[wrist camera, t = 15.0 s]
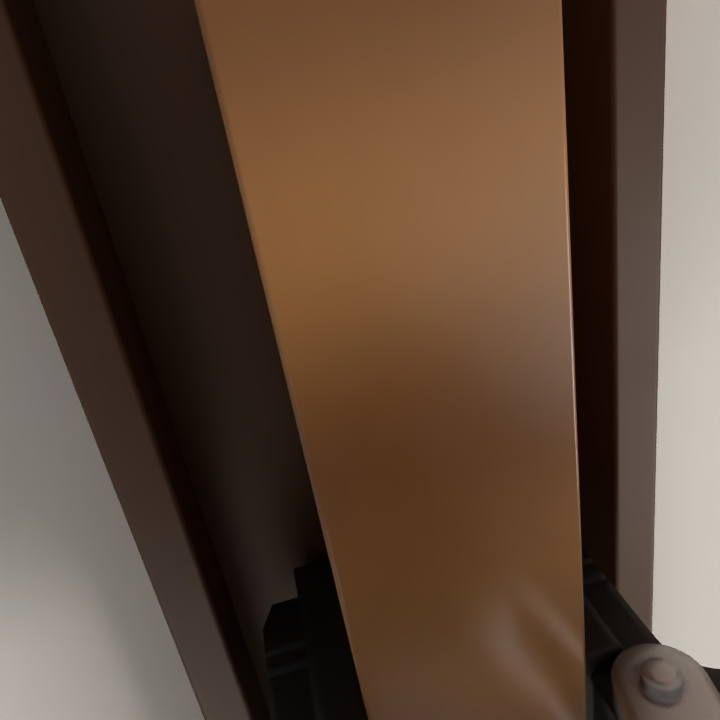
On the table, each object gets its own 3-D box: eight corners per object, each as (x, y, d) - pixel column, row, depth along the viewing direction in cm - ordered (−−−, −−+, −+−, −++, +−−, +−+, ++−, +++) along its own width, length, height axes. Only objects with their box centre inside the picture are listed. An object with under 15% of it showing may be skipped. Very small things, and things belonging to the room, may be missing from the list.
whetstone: (518, 846, 17) (601, 1053, 13) (408, 884, 16) (462, 1109, 13) (417, -32, 9) (560, -126, 5) (194, 5, 8) (177, -65, 5)
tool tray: (605, 838, 19) (646, 918, 17) (316, 938, 18) (327, 1034, 16) (582, -248, 9) (677, -339, 7) (-82, -162, 8) (-176, -242, 6)
